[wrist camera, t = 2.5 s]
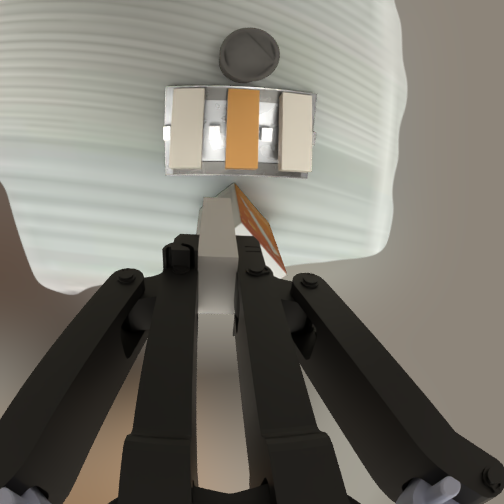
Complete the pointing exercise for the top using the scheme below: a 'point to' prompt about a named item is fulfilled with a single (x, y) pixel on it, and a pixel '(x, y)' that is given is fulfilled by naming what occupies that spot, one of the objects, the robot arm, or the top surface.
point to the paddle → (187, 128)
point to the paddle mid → (242, 129)
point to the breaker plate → (217, 132)
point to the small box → (252, 227)
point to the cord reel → (248, 55)
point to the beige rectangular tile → (295, 133)
